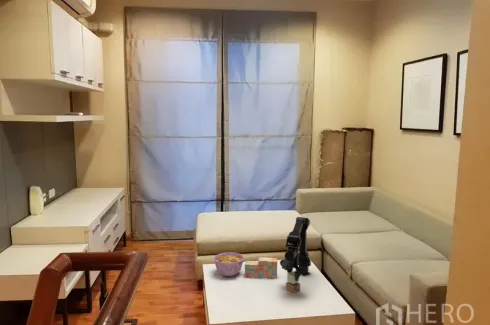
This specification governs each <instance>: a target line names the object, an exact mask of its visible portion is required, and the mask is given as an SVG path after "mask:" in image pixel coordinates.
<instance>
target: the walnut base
mask: <svg viewBox="0 0 490 325" xmlns="http://www.w3.org/2000/svg"><path fill="white" fill-rule="evenodd" d="M285 290H286V291H285V292H287V291H288V292H290V293H292V294H294V293H296V294H298V293H297V292H299V293H301V292H300V291H301V283H300V282H297V283H294V284H292V283H290V282H288V281H286V283H285ZM288 292H287V293H288ZM290 293H289V294H290ZM292 294H291V295H292ZM294 295H295V294H294Z"/></svg>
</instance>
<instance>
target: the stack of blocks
mask: <svg viewBox="0 0 490 325" xmlns="http://www.w3.org/2000/svg"><path fill="white" fill-rule="evenodd" d="M244 278H246V279H248V278H249V279H261V278H267V279H266V280H275V279H276V280H277V278H278V258H277V257H276V258H275V257H258V261H254V260H252V261H249V260H246V261H245V262H244Z"/></svg>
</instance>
